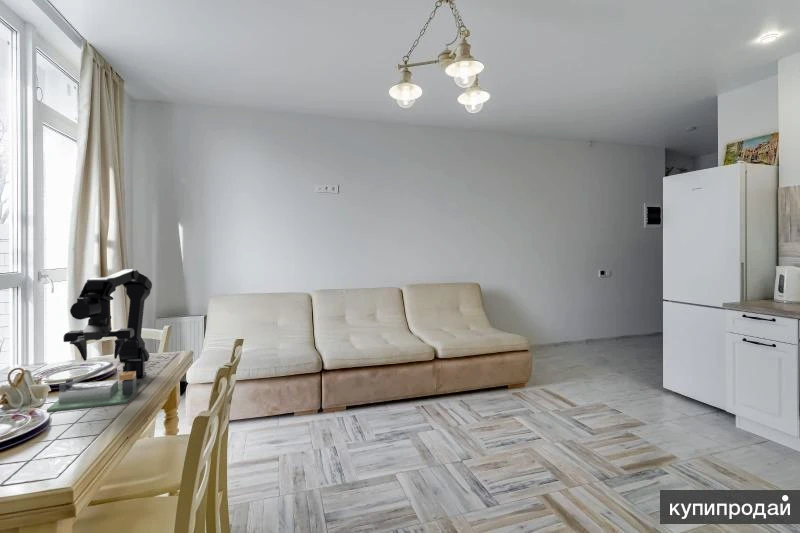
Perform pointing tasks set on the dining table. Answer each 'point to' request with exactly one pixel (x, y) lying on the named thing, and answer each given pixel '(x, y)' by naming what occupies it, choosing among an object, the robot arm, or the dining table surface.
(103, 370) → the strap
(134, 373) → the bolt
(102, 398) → the green flat square base
